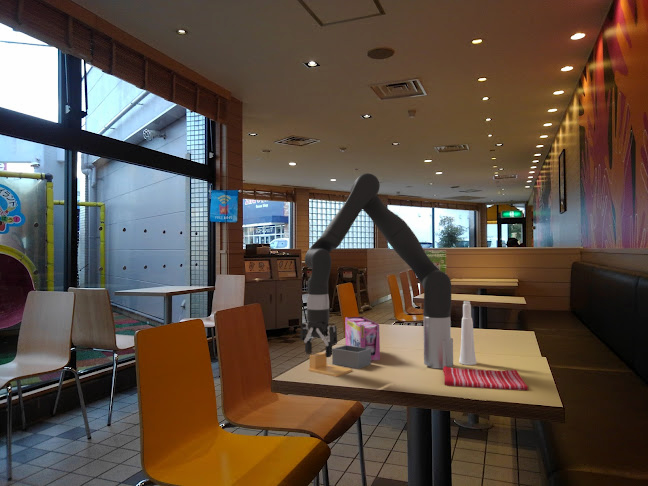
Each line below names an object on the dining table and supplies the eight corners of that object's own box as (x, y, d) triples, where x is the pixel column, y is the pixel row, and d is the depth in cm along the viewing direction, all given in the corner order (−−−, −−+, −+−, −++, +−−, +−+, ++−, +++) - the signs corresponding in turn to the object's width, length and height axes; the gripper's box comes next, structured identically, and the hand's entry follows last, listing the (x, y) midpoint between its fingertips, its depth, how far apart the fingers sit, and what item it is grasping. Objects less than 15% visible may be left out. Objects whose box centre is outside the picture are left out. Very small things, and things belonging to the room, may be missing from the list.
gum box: (382, 362, 167) (381, 325, 167) (360, 363, 165) (360, 325, 165) (363, 349, 190) (363, 316, 190) (344, 350, 189) (344, 316, 189)
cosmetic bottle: (478, 362, 165) (477, 301, 166) (473, 365, 160) (472, 302, 161) (462, 360, 169) (461, 300, 169) (456, 363, 164) (455, 301, 164)
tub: (371, 365, 161) (370, 348, 162) (358, 370, 155) (358, 352, 155) (345, 361, 168) (345, 345, 168) (332, 365, 162) (332, 348, 162)
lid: (352, 373, 152) (352, 356, 152) (336, 379, 146) (336, 361, 146) (323, 367, 160) (323, 351, 160) (307, 372, 153) (306, 356, 153)
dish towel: (442, 373, 153) (442, 365, 153) (519, 377, 147) (518, 368, 147) (442, 387, 137) (442, 378, 137) (528, 392, 131) (528, 383, 131)
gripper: (341, 307, 155) (341, 356, 154) (309, 305, 163) (309, 350, 163) (327, 309, 149) (328, 360, 148) (295, 307, 158) (295, 354, 157)
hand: (318, 355), depth 156 cm, fingers open, 8 cm apart
